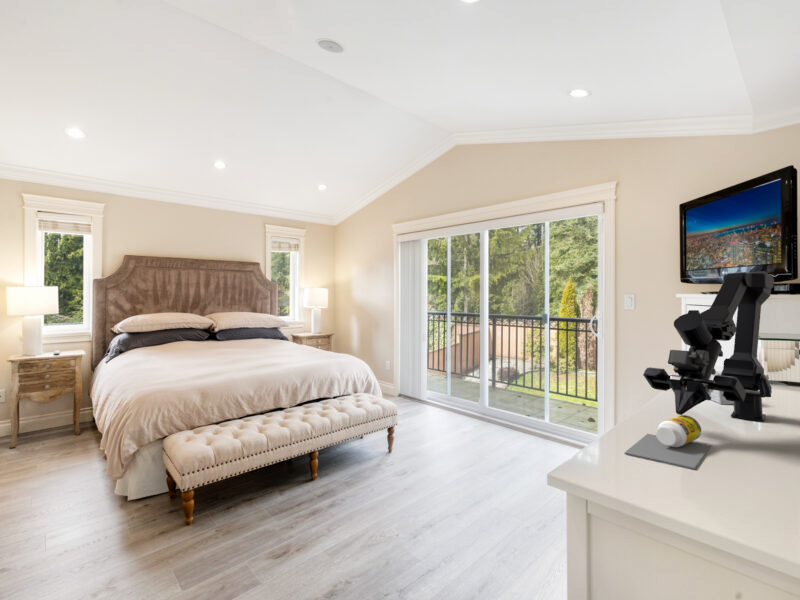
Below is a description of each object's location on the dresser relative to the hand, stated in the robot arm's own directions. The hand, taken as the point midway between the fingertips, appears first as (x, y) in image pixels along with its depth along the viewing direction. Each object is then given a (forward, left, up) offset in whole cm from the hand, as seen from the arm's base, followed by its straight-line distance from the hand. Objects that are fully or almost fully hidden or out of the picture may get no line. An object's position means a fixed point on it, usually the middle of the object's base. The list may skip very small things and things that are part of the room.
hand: (678, 413), depth 89 cm
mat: (+7, -1, -7) cm, 9 cm away
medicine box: (-49, 0, -7) cm, 50 cm away
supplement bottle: (-3, +1, -3) cm, 5 cm away
